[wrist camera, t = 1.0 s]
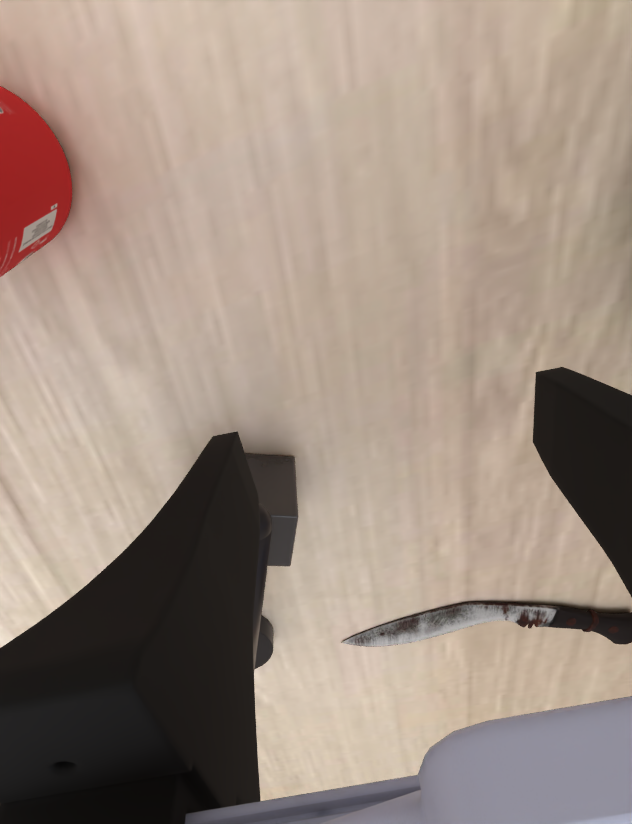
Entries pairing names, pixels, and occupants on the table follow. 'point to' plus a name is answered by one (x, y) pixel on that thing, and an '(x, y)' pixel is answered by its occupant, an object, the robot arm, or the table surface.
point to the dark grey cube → (277, 502)
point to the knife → (472, 613)
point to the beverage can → (29, 182)
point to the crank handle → (262, 595)
